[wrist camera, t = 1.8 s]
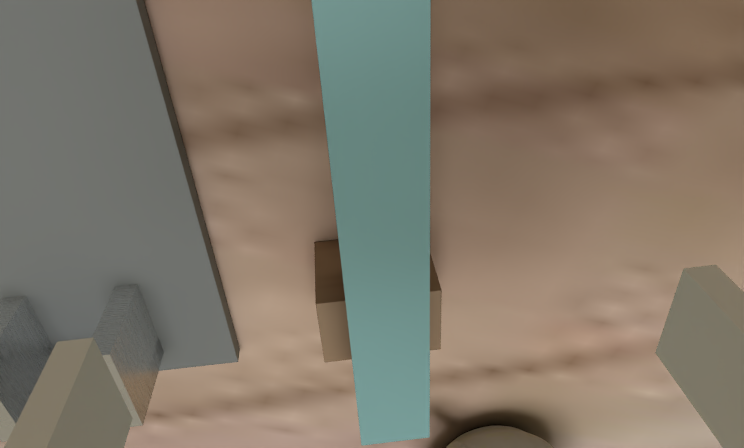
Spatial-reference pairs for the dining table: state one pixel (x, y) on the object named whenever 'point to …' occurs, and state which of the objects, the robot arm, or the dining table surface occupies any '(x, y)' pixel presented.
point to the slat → (381, 201)
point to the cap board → (101, 180)
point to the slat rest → (334, 304)
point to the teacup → (498, 439)
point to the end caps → (113, 337)
